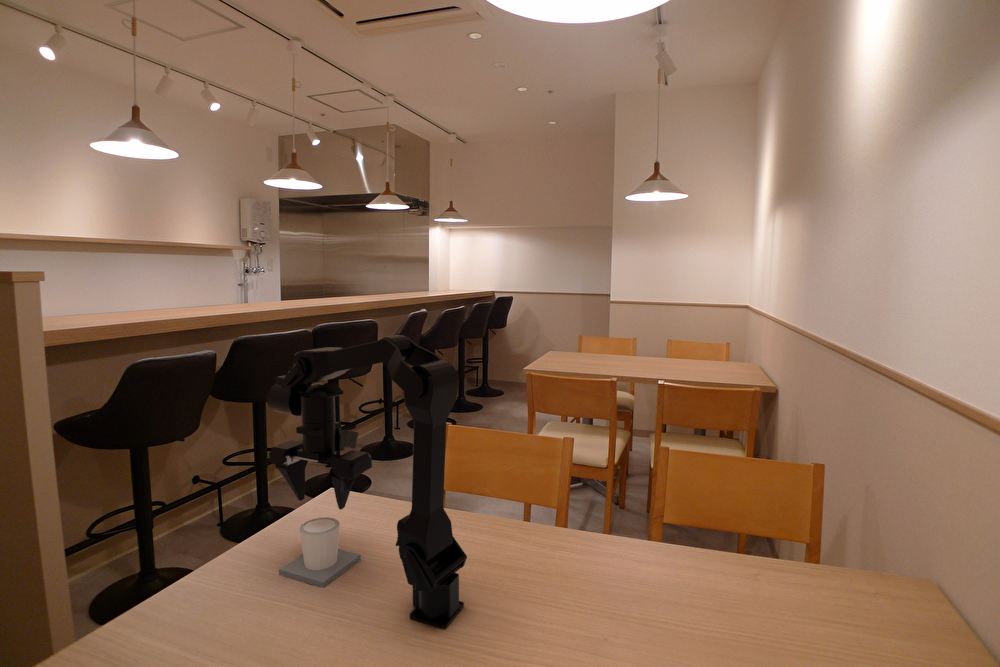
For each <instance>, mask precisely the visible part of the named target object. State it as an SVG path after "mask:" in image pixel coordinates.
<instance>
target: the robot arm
mask: <svg viewBox="0 0 1000 667" xmlns="http://www.w3.org/2000/svg"><path fill="white" fill-rule="evenodd" d="M382 363H383V364H384V365H385V366H386V368H387V370H388V373H389V376H390V378H391V380H392V381H393V383H395V384H396V385H397V386H398V387H399V388H400V389H401V390H402V391H403V397H404V398H403V399H404V405H405V407H406V410H407V411H408V413H409V415H410V416H411V418H412V420H413V439H412V440H413V441H412V442H413V443H412V445H413V446H412V477H411V478H412V479H411V480H412V483H411V490H412V491H411V509H410V513H409V514H407V515H406V516H403V517H402V518H400V519H399V520H398V521H397V523H396V524H397V525H396V530H397V531H396V532H397V539H396V543H395V547H398V556H399V559H400V560H401V562H402V567H403V570H404V574H405V578H406V581H407V583H408V585H410V586H412V608H413V610H412V611H411V612H410V613H409V620H410V619H411V620H414V621H417V622H420V623H424V624H428V625H430V626H434V627H438V628H441V629H446V628H448V627H449V625H450V624H451V622H452V621H453V620H454V619H455V617H456V616H457V615H458V614H459V613H460V612H461V611H462V609H463V608H464V607H465V605H464V604H465V603H464V602H463V601H460V574H459V573H457V572H458V571H459V570H461V569H463V568H464V566H465V564H466V561H467V558H468V556H467V554H466V553H465V551H464V550H463V548H462V547H461V545H460V544H459V543H458V541H457V540H456V538H455V536H454V535H453V528H452V527H453V526H452V521H451V519H450V517H449V515H448V514H447V512H446V510H445V508H444V501H445V500H444V493H445V472H446V471H445V470H446V469H445V468H446V466H445V465H446V464H445V463H446V446H447V445H446V440H447V420H448V418H449V415H450V413H451V412H452V410H453V408H454V406H455V403H456V401H457V397H458V391H459V386H460V374H459V371H458V370H457V369H456V368H455V366H454V365H453V364H451V363H450V361H448V360H447V361H446V360H444V359H442V357H440V356H438V354H437V353H435V352H433V351H432V350H428V349H427V348H425V347H422V346H421V345H419V344H417V343H415V342H414V341H413V340H412V339H411V338H410V337H408V336H406V335H403V334H402V335H401V334H399V335H398V334H397V335H391V336H385V337H382V338H381V339H378V340H375V341H369V342H365V343H361V344H356V345H352V346H347V347H344V348H343V347H338V346H337V347H336V346H335V347H334V346H333V347H332V346H330V347H329V346H327V347H326V346H325V347H320V348H312V349H307V350H299V351H297V352H295V354H294V358H293V360H292V362H291V364H290V367H289V369H288V371H287V373H286V375H285V374H284V375H280V376H275V383H274V385H272V386H271V387H270V389H269V390H268V393H267V395H266V402H267V403H266V404H267V406H268V408H269V409H270V410H271V411H273V412H275V413H281V414H284V415H291V416H294V417H295V416H296V417H300V418H301V419H300V423H301V425H300V426H296V427H295V428H296V429H295V430H296V434H301V441H297V440H292V439H291V440H287V441H285V442H282V443H280V444H278V445H275V446H272V447H271V449H270V451H269V453H268V457H269V459H268V460H269V464H270V465H271V464H272V465H274V468H275V469H277V470H278V471H279V472H280V474H281V475H282V477H283V478H284V479H285V481H286V482H287V483H288V485H289V487H290V489H291V490H292V492H293V493H294V495H295V497H296V498H297V500H298V501H300V502H301V501H304V500H305V494H306V468H307V465H308V463H309V462H311V463H316V464H323V465H326V466H327V465H328V466H332V468H331V470H332V472H333V473H334V474H333V475H332V476H331V481H332V482H331V483H332V484H333V485H332V486H333V490H334V495H335V500H336V504H337V508H338V510H343V509H344V508H345V507H346V504H347V502H348V499H349V495H350V492H351V490H352V487H353V484H354V482H355V480H356V479H357V477H358V476H359V475H361V474H363V473H365V472H366V471H368V470H369V469H371V468H373V466H372V465H373V461H372V460H373V459H372V455H370V453H369V452H366V451H360V450H355V449H356V447H357V442H358V437H359V431H353V430H346V429H342V424H341V422H340V421H336V400H335V399H336V398H335V397H338V396H339V397H340V396H343V395H344V390H343V389H342V388H340V387H339V386H338V385H337V383H336V382H335V381H331V382H326V381H329V380H332V379H335V378H338V377H340V376H341V375H344V374H345V373H346V372H347V371H349V370H352V369H356V368H357V369H358V368H361V367H367V366H371V365H376V364H382ZM411 366H412V367H411ZM324 382H325V383H324ZM320 383H324V384H320ZM345 447H346V448H351V449H352V450H350V451H347V452H345V453H343V454H341V455H340V454H337V452H342V451H345ZM353 449H354V450H353Z"/></svg>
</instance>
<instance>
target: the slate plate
mask: <svg viewBox="0 0 1000 667" xmlns="http://www.w3.org/2000/svg"><path fill="white" fill-rule="evenodd" d="M361 560H362V556H361V554H360V553H357V552H352V551H349V550H345V549H340V548H338V554H337V561H336V563H335V564H334V565H333V566H331V567H329V568H327V569H323V570H309V569H307V568H306V567H305V564H304V557H303V553H302V554H301V555H299V556H298V557H296V558H293V560H291V561H290V562H287V564H285V565H284V566H282V567H281V568H279V569H278V575H279V576H281V575H282V577H285V578H289V579H292V580H295V581H300V582H303V583H306V584H309V585H312V586H315V587H319V588H322V589H324V588H326V587H327V586H328V585H329V584H331V583H332V582H334V581H335V580H336V579H338V577H340V576H342V574H344V573H345V572H346V571H348V570H349V569H351V568H352V567H354V566H355V565H356V564H357V563H359V561H361Z"/></svg>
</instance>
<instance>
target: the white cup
mask: <svg viewBox="0 0 1000 667" xmlns="http://www.w3.org/2000/svg"><path fill="white" fill-rule="evenodd" d="M299 534H300V536H299V537H300V541H301V542H300V543H301V549H302V554H303V557H304V564H305V567H306V568H307V569H309V570H323V569H327V568H329V567H331V566H333V565H334V564H335V563H336V561H337V554H338V549H339V537H340V521H339V520H337V518H333V517H328V516H327V517H317V518H316V517H315V518H312V519H309V520H307V521H305V522H304V523H302V524H300V526H299Z"/></svg>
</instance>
